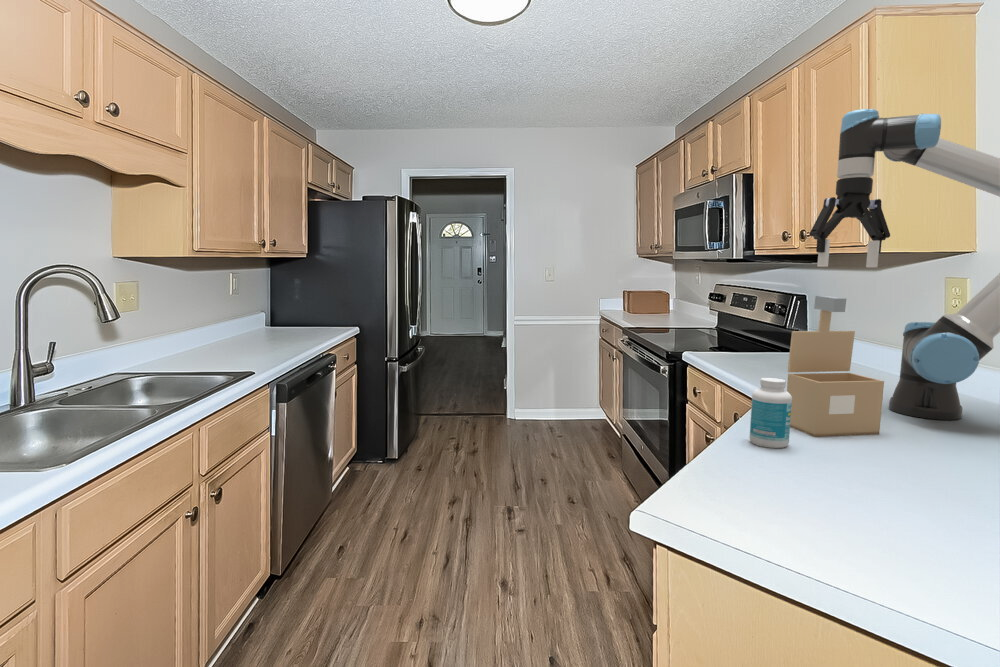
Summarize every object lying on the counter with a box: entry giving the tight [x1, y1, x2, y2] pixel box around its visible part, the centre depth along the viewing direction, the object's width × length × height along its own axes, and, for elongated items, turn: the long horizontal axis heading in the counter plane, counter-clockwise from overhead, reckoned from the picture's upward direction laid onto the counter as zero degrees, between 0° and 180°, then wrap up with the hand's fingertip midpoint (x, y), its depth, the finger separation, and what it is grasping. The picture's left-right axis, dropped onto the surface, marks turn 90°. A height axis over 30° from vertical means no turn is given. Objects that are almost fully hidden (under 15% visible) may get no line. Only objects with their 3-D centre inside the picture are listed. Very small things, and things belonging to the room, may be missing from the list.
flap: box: [787, 295, 856, 373], centre depth 132 cm, size 16×18×6 cm
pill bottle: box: [749, 377, 792, 449], centre depth 119 cm, size 8×7×14 cm
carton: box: [786, 372, 885, 438], centre depth 130 cm, size 16×10×12 cm, turn 100°
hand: (847, 267), depth 141 cm, fingers open, 13 cm apart
